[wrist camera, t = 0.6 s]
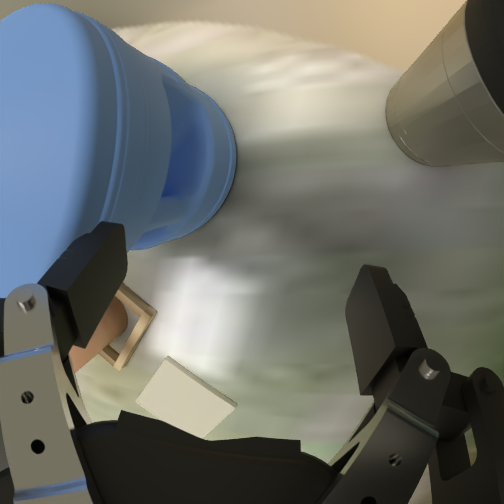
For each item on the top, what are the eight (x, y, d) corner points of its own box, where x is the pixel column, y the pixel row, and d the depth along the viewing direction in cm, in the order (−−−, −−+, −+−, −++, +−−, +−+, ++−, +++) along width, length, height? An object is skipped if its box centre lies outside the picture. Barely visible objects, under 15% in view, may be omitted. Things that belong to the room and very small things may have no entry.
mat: (167, 355, 35) (165, 359, 34) (237, 403, 34) (235, 407, 34) (138, 398, 37) (135, 401, 37) (198, 439, 37) (196, 443, 36)
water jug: (81, 175, 32) (-149, 206, 5) (160, 61, 27) (-70, -53, 1) (172, 268, 32) (-70, 437, 5) (273, 148, 28) (-31, -47, 1)
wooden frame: (91, 255, 34) (83, 258, 32) (157, 311, 34) (151, 316, 32) (68, 315, 37) (61, 319, 35) (125, 365, 36) (119, 371, 35)
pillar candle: (85, 269, 34) (28, 295, 25) (134, 312, 34) (83, 352, 25) (72, 303, 36) (20, 333, 27) (117, 344, 36) (70, 385, 26)
